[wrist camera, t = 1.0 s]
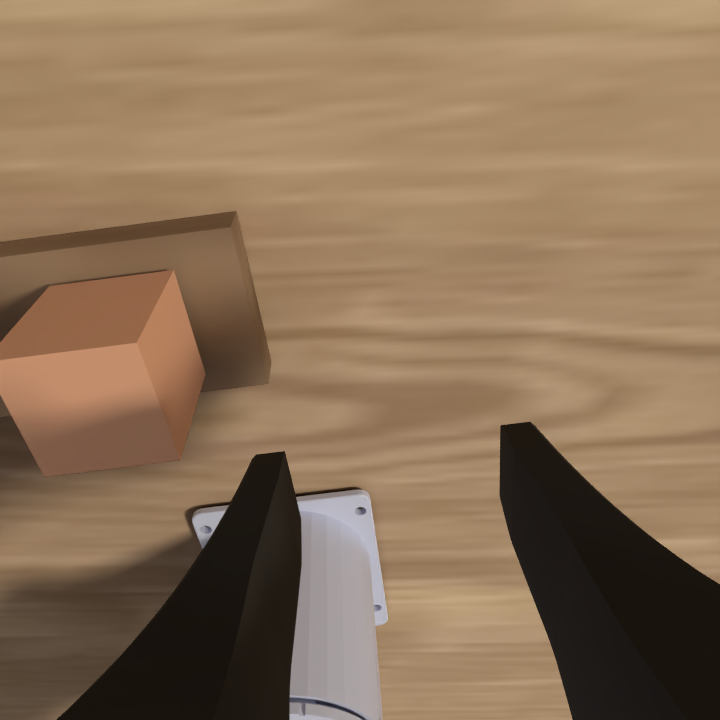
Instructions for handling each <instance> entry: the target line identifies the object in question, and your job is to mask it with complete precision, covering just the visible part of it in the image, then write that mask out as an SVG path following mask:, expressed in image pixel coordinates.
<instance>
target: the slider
mask: <svg viewBox="0 0 720 720" xmlns="http://www.w3.org/2000/svg"><path fill="white" fill-rule="evenodd" d="M204 378H205V371H204V367H203V364H202V361H201V358H200V354H199V351H198V348H197V344H196V341H195V338H194V335H193V331H192V328H191V325H190V322H189V318H188V315H187V312H186V309H185V305H184V302H183V299H182V295H181V292H180V289H179V286H178V282H177V279H176V276H175V273H174V270H169V271H162V272H154V273H146V274H138V275H131V276H123V277H115V278H108V279H100V280H92V281H84V282H77V283H69V284H61V285H53V286H49V287H48V288H47V289H46V291H45V292H44V293H43V294H42V295H41V296H40V297H39V299H38V300H37V301H36V302H35V303H34V304H33V305H32V307H31V308H30V309H29V310H28V311H27V312H26V313H25V315H24V316H23V317H22V318H21V319H20V320H19V321H18V323H17V324H16V325H15V326H14V327H13V328H12V329H11V331H10V332H9V333H8V334H7V335H6V336H5V337H4V339H3V340H2V341H1V342H0V395H1V397H2V399H3V401H4V403H5V405H6V407H7V408H8V410H9V412H10V414H11V416H12V418H13V420H14V421H15V423H16V425H17V427H18V429H19V431H20V433H21V434H22V436H23V438H24V440H25V442H26V444H27V446H28V448H29V449H30V451H31V453H32V455H33V457H34V459H35V461H36V462H37V464H38V466H39V468H40V470H41V472H42V474H43V475H44V477H49V476H57V475H65V474H73V473H81V472H90V471H98V470H106V469H114V468H122V467H130V466H139V465H147V464H155V463H163V462H171V461H179V460H180V459H181V456H182V452H183V449H184V445H185V442H186V439H187V435H188V432H189V428H190V425H191V422H192V418H193V415H194V412H195V408H196V405H197V401H198V398H199V395H200V391H201V388H202V384H203V381H204Z"/></svg>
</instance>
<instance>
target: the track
mask: <svg viewBox="0 0 720 720" xmlns="http://www.w3.org/2000/svg"><path fill="white" fill-rule="evenodd" d="M169 270H174V273H175V276H176V279H177V282H178V286H179V289H180V292H181V295H182V299H183V302H184V305H185V309H186V312H187V315H188V318H189V322H190V325H191V328H192V331H193V335H194V338H195V341H196V344H197V348H198V351H199V354H200V358H201V361H202V364H203V367H204V371H205V378H204V381H203V384H202V388H201V391H200V392H207V391H215V390H223V389H231V388H239V387H247V386H255V385H263V384H268V383H269V375H270V368H271V358H270V354H269V349H268V345H267V341H266V336H265V332H264V328H263V324H262V319H261V315H260V311H259V306H258V302H257V298H256V294H255V289H254V285H253V281H252V276H251V272H250V268H249V263H248V259H247V255H246V251H245V246H244V242H243V238H242V233H241V229H240V225H239V220H238V216H237V212H236V211H235V212H228V213H220V214H212V215H205V216H197V217H189V218H182V219H174V220H167V221H159V222H151V223H144V224H136V225H128V226H121V227H113V228H106V229H98V230H90V231H83V232H75V233H67V234H60V235H52V236H45V237H37V238H29V239H22V240H14V241H6V242H0V342H1V341H2V340H3V339H4V337H5V336H6V335H7V334H8V333H9V332H10V331H11V329H12V328H13V327H14V326H15V325H16V324H17V323H18V321H19V320H20V319H21V318H22V317H23V316H24V315H25V313H26V312H27V311H28V310H29V309H30V308H31V307H32V305H33V304H34V303H35V302H36V301H37V300H38V299H39V297H40V296H41V295H42V294H43V293H44V292H45V291H46V289H47V288H48V287H49V286H53V285H61V284H69V283H77V282H84V281H92V280H100V279H108V278H115V277H123V276H131V275H138V274H146V273H154V272H162V271H169ZM7 416H11V414H10V412H9V410H8V408H7V407H6V405H5V403H4V401H3V399H2V397H1V395H0V417H7Z"/></svg>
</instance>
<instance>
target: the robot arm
mask: <svg viewBox="0 0 720 720" xmlns="http://www.w3.org/2000/svg"><path fill="white" fill-rule="evenodd" d="M500 499H501V503H502V507H503V511H504V515H505V519H506V523H507V527H508V530H509V534H510V538H511V541H512V544H513V547H514V549H515V552H516V555H517V557H518V560H519V562H520V565H521V568H522V570H523V573H524V576H525V578H526V581H527V583H528V586H529V588H530V591H531V594H532V596H533V599H534V601H535V604H536V607H537V609H538V612H539V614H540V617H541V619H542V622H543V625H544V627H545V630H546V632H547V635H548V638H549V640H550V643H551V646H552V649H553V652H554V655H555V658H556V661H557V665H558V668H559V672H560V675H561V679H562V682H563V686H564V690H565V693H566V697H567V700H568V704H569V707H570V711H571V715H572V718H573V720H720V584H718V583H717V582H715V581H714V580H712V579H710V578H709V577H707V576H706V575H704V574H702V573H701V572H699V571H698V570H696V569H695V568H693V567H692V566H691V565H689V564H688V563H686V562H685V561H683V560H682V559H680V558H679V557H678V556H676V555H675V554H674V553H672V552H671V551H670V550H668V549H667V548H666V547H664V546H663V545H661V544H660V543H659V542H657V541H656V540H655V539H654V538H652V537H651V536H650V535H648V534H647V533H646V532H645V531H643V530H642V529H641V528H640V527H639V526H637V525H636V524H635V523H634V522H633V521H631V520H630V519H629V518H628V517H627V516H625V515H624V514H623V513H622V512H621V511H620V510H618V509H617V508H616V507H615V506H614V505H613V504H612V503H611V502H609V501H608V500H607V499H606V498H605V497H604V496H603V495H602V494H601V493H600V492H599V491H598V490H596V489H595V488H594V487H593V486H592V485H591V484H590V483H589V482H588V481H587V480H586V479H585V478H584V477H583V476H582V475H581V474H580V473H579V472H578V471H577V470H576V469H575V468H574V467H573V466H572V465H571V464H570V463H569V462H568V461H567V460H566V459H565V458H564V457H563V456H562V455H561V454H560V453H559V452H558V451H557V450H556V449H555V447H554V446H553V445H552V444H551V443H550V442H549V441H548V440H547V439H546V438H545V436H544V435H543V434H542V433H541V432H540V431H539V430H538V429H537V428H536V426H535V425H533V424H532V423H531V422H525V423H516V424H508V425H501V432H500ZM358 507H363V508H362V509H357V508H358ZM192 524H193V526H194V529H195V531H196V534H197V537H198V539H199V542H200V545H201V547H202V551H201V553H200V554H199V556H198V557H197V559H196V560H195V562H194V563H193V565H192V566H191V568H190V569H189V571H188V572H187V574H186V575H185V577H184V578H183V579H182V581H181V582H180V584H179V585H178V586H177V588H176V589H175V590H174V592H173V593H172V595H171V596H170V597H169V598H168V600H167V601H166V602H165V604H164V605H163V606H162V608H161V609H160V610H159V611H158V613H157V614H156V615H155V616H154V618H153V619H152V620H151V621H150V622H149V623H148V625H147V626H146V627H145V628H144V629H143V631H142V632H141V633H140V634H139V635H138V637H137V638H136V639H135V640H134V641H133V642H132V644H131V645H130V646H129V647H128V648H127V649H126V650H125V651H124V653H123V654H122V655H121V656H120V657H119V658H118V659H117V660H116V661H115V662H114V663H113V664H112V665H111V666H110V667H109V668H108V669H107V670H106V671H105V673H104V674H103V675H102V676H101V677H100V678H99V679H98V680H97V681H96V682H95V683H94V684H93V685H92V686H91V687H90V688H89V689H88V690H87V691H86V692H85V693H84V694H83V695H82V696H81V697H80V698H79V699H78V700H77V701H76V702H75V703H74V704H73V705H72V706H71V707H70V708H69V709H68V710H67V711H65V712H64V713H63V714H62V715H61V716H60V717H59V718H58V719H57V720H383V719H382V706H381V693H380V680H379V667H378V654H377V642H376V629H375V626H377V625H382V624H384V623H386V622H387V620H388V614H387V607H386V600H385V593H384V587H383V580H382V573H381V567H380V560H379V554H378V547H377V540H376V534H375V527H374V520H373V514H372V507H371V500H370V495H369V493H368V492H366V491H364V490H350V491H341V492H333V493H325V494H317V495H308V496H300V497H296V495H295V491H294V487H293V483H292V479H291V475H290V471H289V467H288V463H287V459H286V454H285V451H283V452H275V453H266V454H258V455H255V457H254V458H253V459H252V460H251V463H250V465H249V467H248V469H247V471H246V473H245V475H244V477H243V479H242V481H241V483H240V485H239V487H238V489H237V491H236V493H235V495H234V497H233V499H232V500H231V502H230V504H229V505H226V506H217V507H209V508H201V509H198V510H196V511H195V512H194V514H193V517H192ZM205 526H209V527H205Z"/></svg>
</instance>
